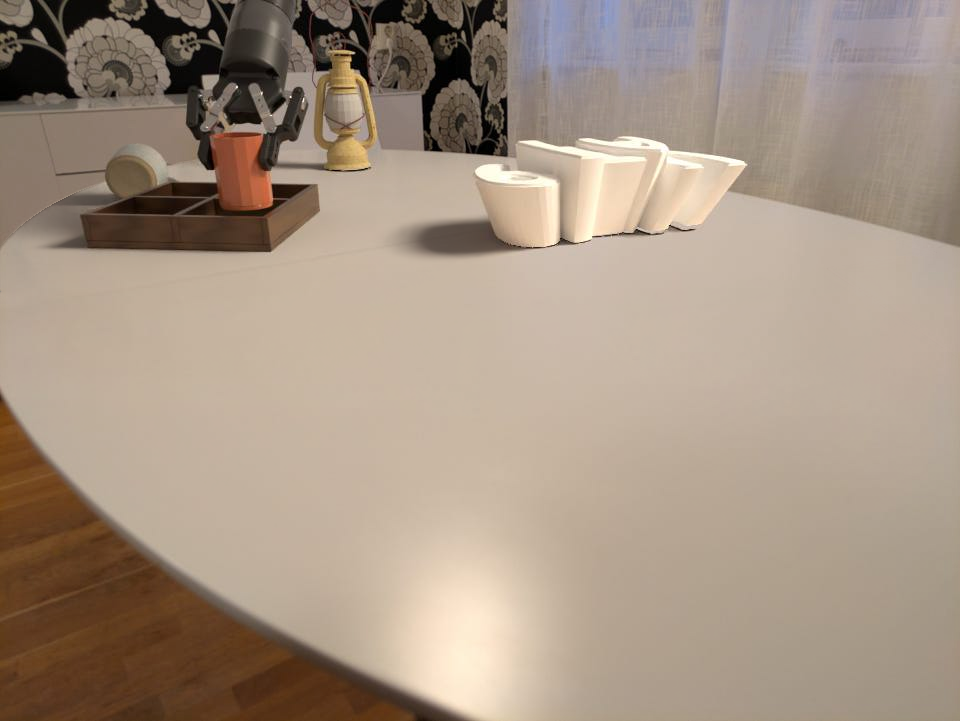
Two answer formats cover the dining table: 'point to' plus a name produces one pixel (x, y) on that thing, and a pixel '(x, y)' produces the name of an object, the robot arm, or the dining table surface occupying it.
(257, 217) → the tray
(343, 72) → the lantern
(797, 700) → the dining table surface
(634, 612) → the dining table surface
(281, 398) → the dining table surface
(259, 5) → the robot arm
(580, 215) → the white wavy slab sculpture
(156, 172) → the ceramic mug
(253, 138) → the cup
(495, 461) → the dining table surface
